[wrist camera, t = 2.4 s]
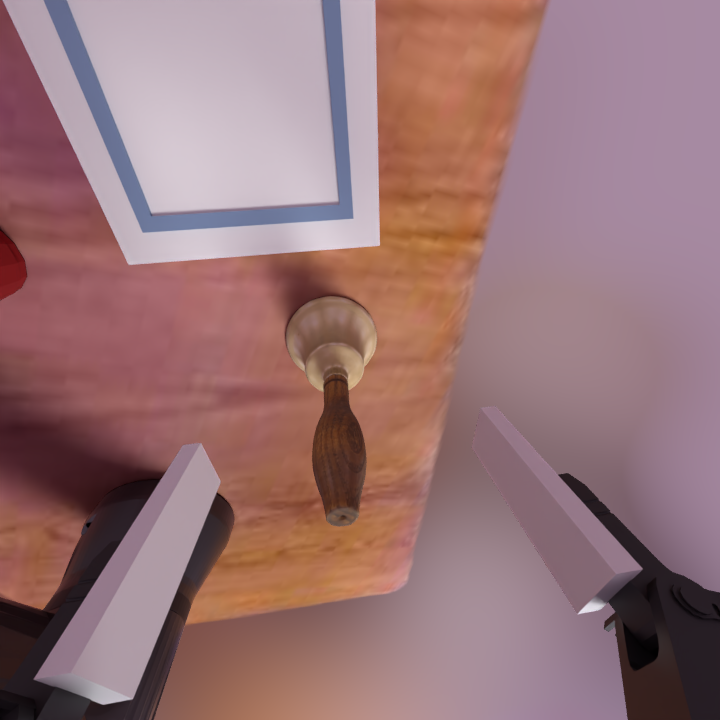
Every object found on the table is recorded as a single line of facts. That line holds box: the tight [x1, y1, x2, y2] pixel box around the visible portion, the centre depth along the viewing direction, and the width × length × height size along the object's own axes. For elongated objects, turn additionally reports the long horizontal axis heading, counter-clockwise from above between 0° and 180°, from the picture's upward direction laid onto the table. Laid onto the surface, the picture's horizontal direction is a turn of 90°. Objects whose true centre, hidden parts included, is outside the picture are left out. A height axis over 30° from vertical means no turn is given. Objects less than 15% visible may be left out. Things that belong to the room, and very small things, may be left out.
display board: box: [3, 0, 380, 265], centre depth 14 cm, size 16×16×3 cm
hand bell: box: [286, 296, 377, 526], centre depth 16 cm, size 8×8×16 cm
